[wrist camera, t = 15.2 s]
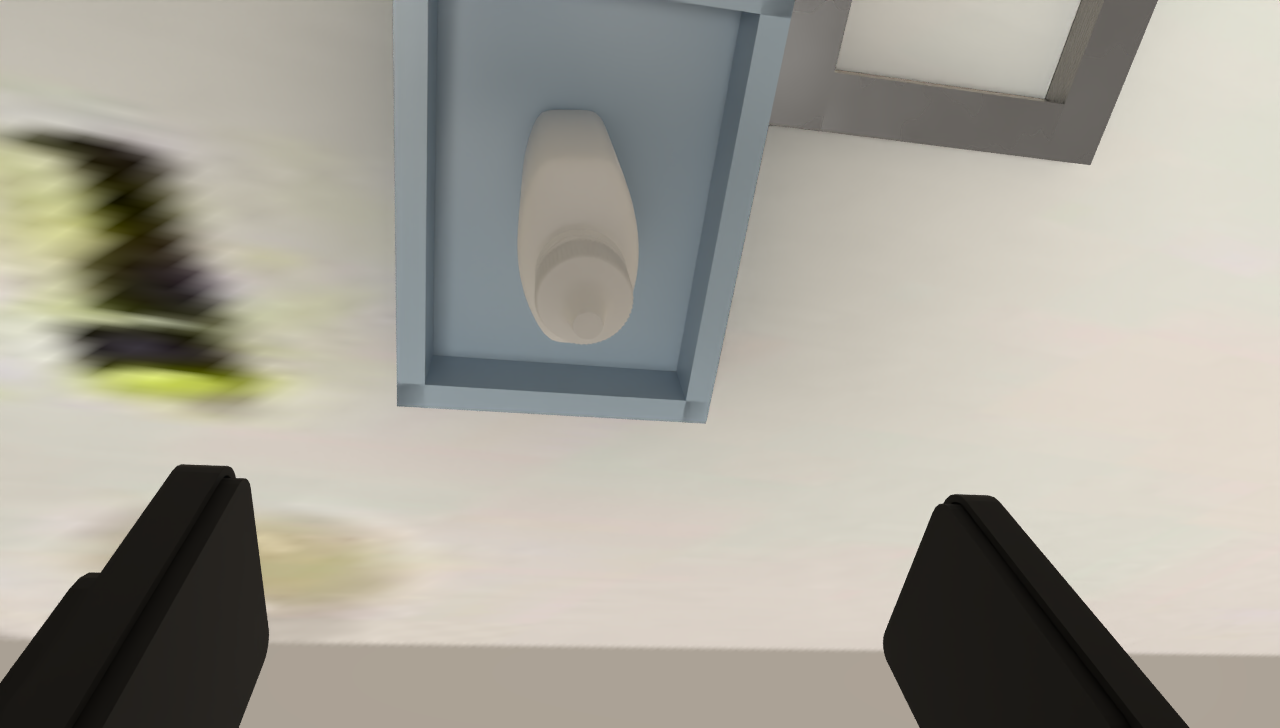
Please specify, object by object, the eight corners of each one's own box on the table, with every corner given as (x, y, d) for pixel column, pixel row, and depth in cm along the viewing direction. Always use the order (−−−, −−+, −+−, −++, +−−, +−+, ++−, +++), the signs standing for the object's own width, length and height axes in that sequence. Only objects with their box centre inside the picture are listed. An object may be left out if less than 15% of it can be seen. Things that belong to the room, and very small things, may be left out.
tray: (408, -78, 24) (391, -82, 21) (772, -20, 26) (798, -17, 23) (409, 368, 31) (397, 406, 28) (692, 386, 33) (705, 423, 30)
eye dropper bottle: (659, 147, 27) (734, 266, 17) (585, 275, 29) (610, 452, 19) (552, 84, 26) (559, 171, 15) (481, 223, 28) (446, 384, 17)
